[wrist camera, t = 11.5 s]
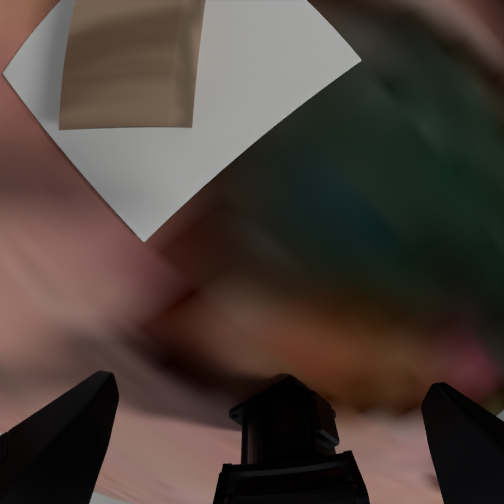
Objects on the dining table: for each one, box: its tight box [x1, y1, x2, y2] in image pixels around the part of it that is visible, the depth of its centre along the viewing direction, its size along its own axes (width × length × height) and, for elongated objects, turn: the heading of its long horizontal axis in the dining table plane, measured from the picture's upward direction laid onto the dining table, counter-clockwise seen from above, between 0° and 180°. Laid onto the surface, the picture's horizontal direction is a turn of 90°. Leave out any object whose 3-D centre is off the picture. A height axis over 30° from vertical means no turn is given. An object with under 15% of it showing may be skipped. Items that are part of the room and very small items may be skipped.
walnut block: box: [59, 0, 206, 130], centre depth 12 cm, size 5×5×10 cm
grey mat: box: [3, 0, 362, 242], centre depth 14 cm, size 16×16×1 cm
